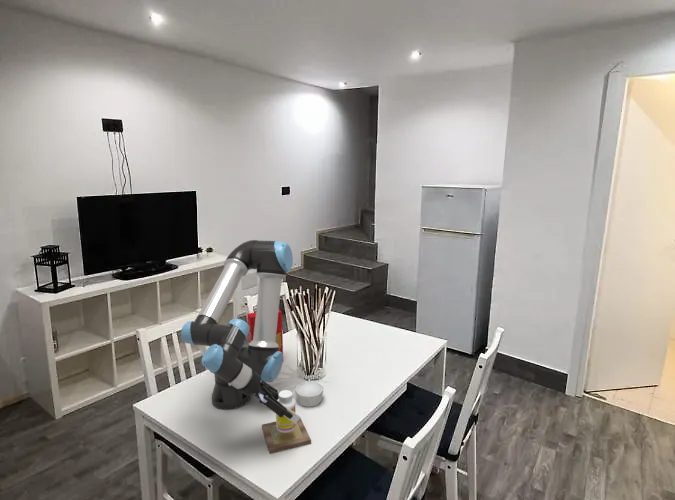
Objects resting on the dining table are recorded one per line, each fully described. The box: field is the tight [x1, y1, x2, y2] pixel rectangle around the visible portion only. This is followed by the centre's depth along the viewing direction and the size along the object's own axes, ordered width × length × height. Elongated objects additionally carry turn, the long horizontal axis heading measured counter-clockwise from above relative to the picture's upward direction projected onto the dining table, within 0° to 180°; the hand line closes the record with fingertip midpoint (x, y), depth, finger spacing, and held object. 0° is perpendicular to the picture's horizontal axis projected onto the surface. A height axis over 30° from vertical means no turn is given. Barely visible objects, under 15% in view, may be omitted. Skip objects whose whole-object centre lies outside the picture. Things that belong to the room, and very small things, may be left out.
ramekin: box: [294, 381, 324, 408], centre depth 164 cm, size 11×11×5 cm
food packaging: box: [247, 309, 284, 355], centre depth 192 cm, size 15×5×25 cm, turn 118°
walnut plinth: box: [261, 417, 312, 454], centre depth 143 cm, size 14×14×2 cm
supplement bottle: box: [275, 389, 297, 433], centre depth 141 cm, size 7×7×13 cm
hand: (294, 414), depth 142 cm, fingers closed on supplement bottle, 7 cm apart
